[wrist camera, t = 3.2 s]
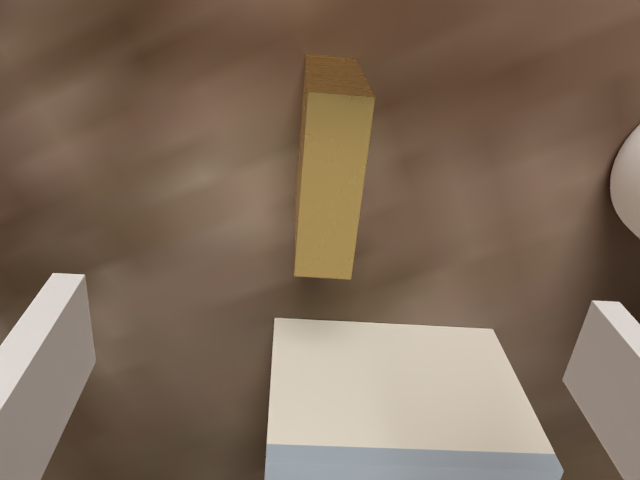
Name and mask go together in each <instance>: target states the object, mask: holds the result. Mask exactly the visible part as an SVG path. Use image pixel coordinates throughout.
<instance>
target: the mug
mask: <svg viewBox="0 0 640 480" xmlns="http://www.w3.org/2000/svg"><path fill="white" fill-rule="evenodd" d="M610 194H611V200H612V203H613V206H614V208H615V211H616V213H617V214H618V216H619V217H620V219H621V220H622V222H623V223H624V224H625V225H626V226H627V227H628V228H629V229H630V230H631V231H632V232H633V233H634V234H635V235H636V236H637V237H638V238H639V239H640V124H639V125H638V126H637V127H636V128H635V129H634V130H633V132H632V133H631V134H630V135H629V137H628V138H627V139H626V140H625V142H624V144H623V145H622V147H621V148H620V150H619V152H618V154H617V156H616V159H615V161H614V164H613V167H612V172H611V178H610Z"/></svg>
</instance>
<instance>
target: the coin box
mask: <svg viewBox="0 0 640 480" xmlns="http://www.w3.org/2000/svg"><path fill="white" fill-rule="evenodd" d="M563 472H564V471H563V469H562V467H561V465H560V463H559V461H558V459H557V457H556V455H555V453H554V451H553V449H552V447H551V445H550V443H549V441H548V439H547V437H546V435H545V433H544V431H543V429H542V427H541V425H540V423H539V421H538V419H537V417H536V415H535V413H534V411H533V409H532V407H531V405H530V403H529V401H528V399H527V397H526V395H525V393H524V391H523V389H522V387H521V385H520V383H519V381H518V379H517V377H516V375H515V373H514V371H513V369H512V367H511V365H510V363H509V361H508V359H507V357H506V355H505V353H504V351H503V349H502V347H501V345H500V343H499V341H498V339H497V337H496V335H495V333H494V331H493V329H484V328H464V327H445V326H425V325H406V324H386V323H366V322H347V321H327V320H308V319H288V318H275V319H274V335H273V351H272V367H271V383H270V399H269V415H268V431H267V446H266V462H265V479H264V480H560V479H561V477H562V474H563Z"/></svg>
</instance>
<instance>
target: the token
mask: <svg viewBox="0 0 640 480" xmlns="http://www.w3.org/2000/svg"><path fill="white" fill-rule="evenodd" d="M374 102H375V96H374V94H373V92H372V90H371V88H370V86H369V84H368V82H367V80H366V78H365V76H364V74H363V72H362V70H361V68H360V66H359V64H358V62H357V59H356V58H348V57H336V56H324V55H312V54H306V58H305V72H304V86H303V99H302V113H301V127H300V141H299V154H298V168H297V182H296V196H295V245H294V276H299V277H317V278H335V279H351V275H352V268H353V260H354V253H355V245H356V238H357V230H358V223H359V215H360V208H361V200H362V193H363V185H364V177H365V170H366V162H367V155H368V147H369V140H370V132H371V125H372V117H373V110H374Z"/></svg>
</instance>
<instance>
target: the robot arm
mask: <svg viewBox="0 0 640 480" xmlns="http://www.w3.org/2000/svg"><path fill="white" fill-rule="evenodd" d="M95 362H96V359H95V351H94V343H93V335H92V327H91V319H90V311H89V303H88V295H87V287H86V279H85V275H81V274H61V273H53V274H52V275H51V277H50V278H49V279H48V281H47V282H46V284H45V285H44V286H43V288H42V289H41V290H40V292H39V293H38V295H37V296H36V297H35V299H34V300H33V302H32V303H31V304H30V306H29V307H28V308H27V310H26V311H25V313H24V314H23V315H22V317H21V318H20V319H19V321H18V322H17V324H16V325H15V326H14V328H13V329H12V331H11V332H10V333H9V335H8V336H7V337H6V339H5V340H4V342H3V343H2V344H1V346H0V480H41V477H42V475H43V473H44V471H45V469H46V467H47V465H48V463H49V460H50V458H51V456H52V454H53V452H54V450H55V448H56V445H57V443H58V441H59V439H60V437H61V435H62V433H63V431H64V428H65V426H66V424H67V422H68V420H69V418H70V416H71V414H72V411H73V409H74V407H75V405H76V403H77V401H78V399H79V396H80V394H81V392H82V390H83V388H84V386H85V384H86V382H87V379H88V377H89V375H90V373H91V371H92V369H93V367H94V365H95ZM562 380H563V382H564V383H565V385H566V387H567V388H568V390H569V392H570V393H571V395H572V396H573V398H574V400H575V401H576V403H577V405H578V406H579V408H580V410H581V411H582V413H583V414H584V416H585V418H586V419H587V421H588V423H589V424H590V426H591V427H592V429H593V431H594V432H595V434H596V436H597V437H598V439H599V440H600V442H601V444H602V445H603V447H604V449H605V450H606V452H607V453H608V455H609V457H610V458H611V460H612V462H613V463H614V465H615V466H616V468H617V470H618V471H619V473H620V475H621V476H622V478H623V479H624V480H640V324H639V323H638V322H637V321H636V320H635V318H634V317H633V316H632V315H631V314H630V313H629V312H628V311H627V310H626V309H625V307H624V306H623V305H622V304H621V303H620V302H612V301H593V300H592V302H591V304H590V307H589V310H588V312H587V315H586V318H585V320H584V323H583V326H582V329H581V331H580V334H579V337H578V339H577V342H576V345H575V347H574V350H573V353H572V355H571V358H570V361H569V363H568V366H567V369H566V371H565V374H564V377H563V379H562Z"/></svg>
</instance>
